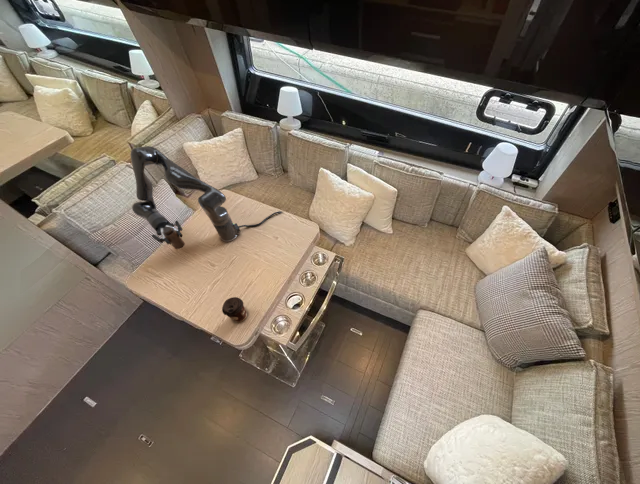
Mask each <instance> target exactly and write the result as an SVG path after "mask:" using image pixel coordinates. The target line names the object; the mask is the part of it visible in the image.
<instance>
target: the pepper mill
mask: <svg viewBox="0 0 640 484" xmlns="http://www.w3.org/2000/svg"><path fill="white" fill-rule="evenodd" d="M174 228H175V227H174ZM174 228H171V227H165V228H164V229H163V235H164V236H165V237H166V238H167V239H168V240H169V242H170V243H171V244H170V245H171V246H172V247H173V249H175V250H181V249H183V248H184V247H185V245H186V243H185V241H184V240H183V239H182V237H180V236H179V235H178V233H177V232H176V231H175V230H174Z"/></svg>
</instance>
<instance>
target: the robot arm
mask: <svg viewBox="0 0 640 484" xmlns="http://www.w3.org/2000/svg"><path fill="white" fill-rule="evenodd" d="M130 161H131V165H132V170H133V175H134V178H135V179H134V180H135V189H136V190H135V191H136V195H135V196H136V198H137V200H139V201H136V202H134V203H133V204H132V206H131V210H132V211H133V213H134V214H135V215H136V216H138V217H140V218H142V219H144V220H146V221H147V223H148V224H149V225H150V226H151V228H152V229H154V230H155V231H156V233H155V234H152V235H151V237H152V238H153V240H155V241H157V242H158V243H159V244H160V243H161V244H163V243H166V245H172V244H171V243H170V242H169V240H168V239H167V238H166V237H165V236H164V235H163V229H164V228H165V227H171V228H174V230H175V231H176V232H177V233H178V235H179V236H180V237H181V238H183V233H182V231H183V227H182V225H181V224H180V222H179V221H178V220H175V221H174V222H173V223H172V222H170V221H169V220H168V219H167V218H166V217H165V215H163V214H161V212H160V211H159V210H158V209H157V204H156V202H155V200H154V199H155V198H154V186H153V183H152V181H151V179H149V177H148V176H147V175H146V173H145V167H147V166H152V165H155V166H158V167H160V168H161V169H162V170H163V174H164V177H165V179H166V180H167V181H168V182H169V183H170V184H172V185H173V186H175V187H176V188H178V189H180V190H187V191H198V192H202V193H203V194H201V196H199V197H198V198H197V202H198V204H199V206H200V207H201V209H202V210H203V212H204V213H205V215H206V216H207V218H209V220H210V222H211V224H212V226H213V227H214V229H215V231H216V233H217V235H218V236H219V238H220V240H221V241H222V242H226V243H230V242H233V241H234V240H236V239H237V238H238V237H239V236H240V234H239V232H241V229H240V228H245V227H246V228H253V227H257V226H261V225H262V224H264V223H265V221H267V220H268V219H269V218H271V217H273V216H274V215H276V214H282V211H275V212H273V213H271V214H269V215H268V216H267V217H266V218H264V219H262V221H260V223H256V224H242V225H238V223H234V222H233V220H232V218H231V216H230V214H229V211H228V210H227V208H226V207H224V206H222V205H224V204H225V203H226V201H227V197H226V195H225V194H224V193H223V192H222V191H221V190H219V189H217V188H216V187H215V186H212V185H210V184H208V183H207V182H205V181H203V180H201V179H200V178H198V177H196V176H195V175H194V174H192V173H191V172H189V171H188V170H187V169H185V168H183V167H181V166H180V165H179V164H177V163H176V162H174V161H173V160H171V159H170V158H169V157H167V156H166V155H165V154H164V153H163V152H161V151H160V150H159V149H157V148H156V147H154V146H151V145H146V146H140V147H139V146H138V147H134V148H132V149H131V150H130ZM175 227H177V228H175ZM159 236H161V238H160V237H159Z"/></svg>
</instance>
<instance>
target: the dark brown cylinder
mask: <svg viewBox="0 0 640 484" xmlns="http://www.w3.org/2000/svg"><path fill="white" fill-rule="evenodd" d="M221 309H222V311H221V312H222V314H223V315H224V316H227V317H228V318H229V319H231V320H232V321H233V322H237V323H241V322H243V321H244V320H245V319H246V318H247V316H248V312H247V310H246V307H245V306H244V301H243V299H241V298H240V297H237V296H232V297H230V298H227V299H226V300H225V301H224V303H223V304H222V308H221Z"/></svg>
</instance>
